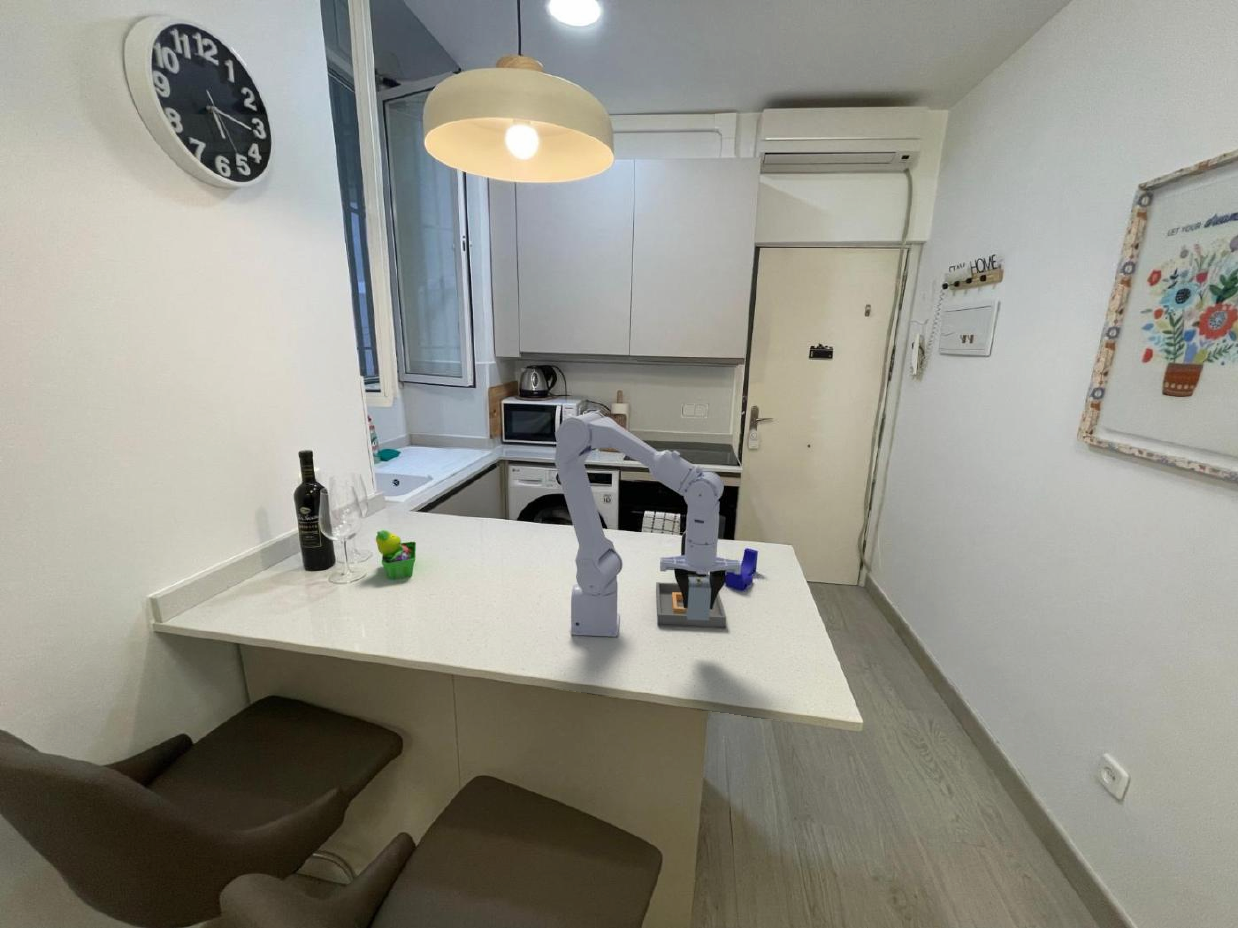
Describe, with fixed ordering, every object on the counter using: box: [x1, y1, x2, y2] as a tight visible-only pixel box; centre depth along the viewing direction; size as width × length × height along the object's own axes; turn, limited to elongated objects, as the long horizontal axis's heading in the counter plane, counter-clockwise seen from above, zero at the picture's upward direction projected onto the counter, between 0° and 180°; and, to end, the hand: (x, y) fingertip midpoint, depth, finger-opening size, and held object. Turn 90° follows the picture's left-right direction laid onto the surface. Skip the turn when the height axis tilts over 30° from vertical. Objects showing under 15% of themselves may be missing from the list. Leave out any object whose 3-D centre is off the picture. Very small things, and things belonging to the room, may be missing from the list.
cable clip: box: [724, 547, 759, 592], centre depth 122 cm, size 12×4×6 cm, turn 143°
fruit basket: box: [375, 529, 417, 580], centre depth 124 cm, size 11×9×11 cm
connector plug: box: [686, 576, 711, 620], centre depth 92 cm, size 4×4×7 cm
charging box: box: [655, 581, 727, 629], centre depth 109 cm, size 14×14×2 cm
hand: (697, 606), depth 93 cm, fingers closed on connector plug, 4 cm apart
